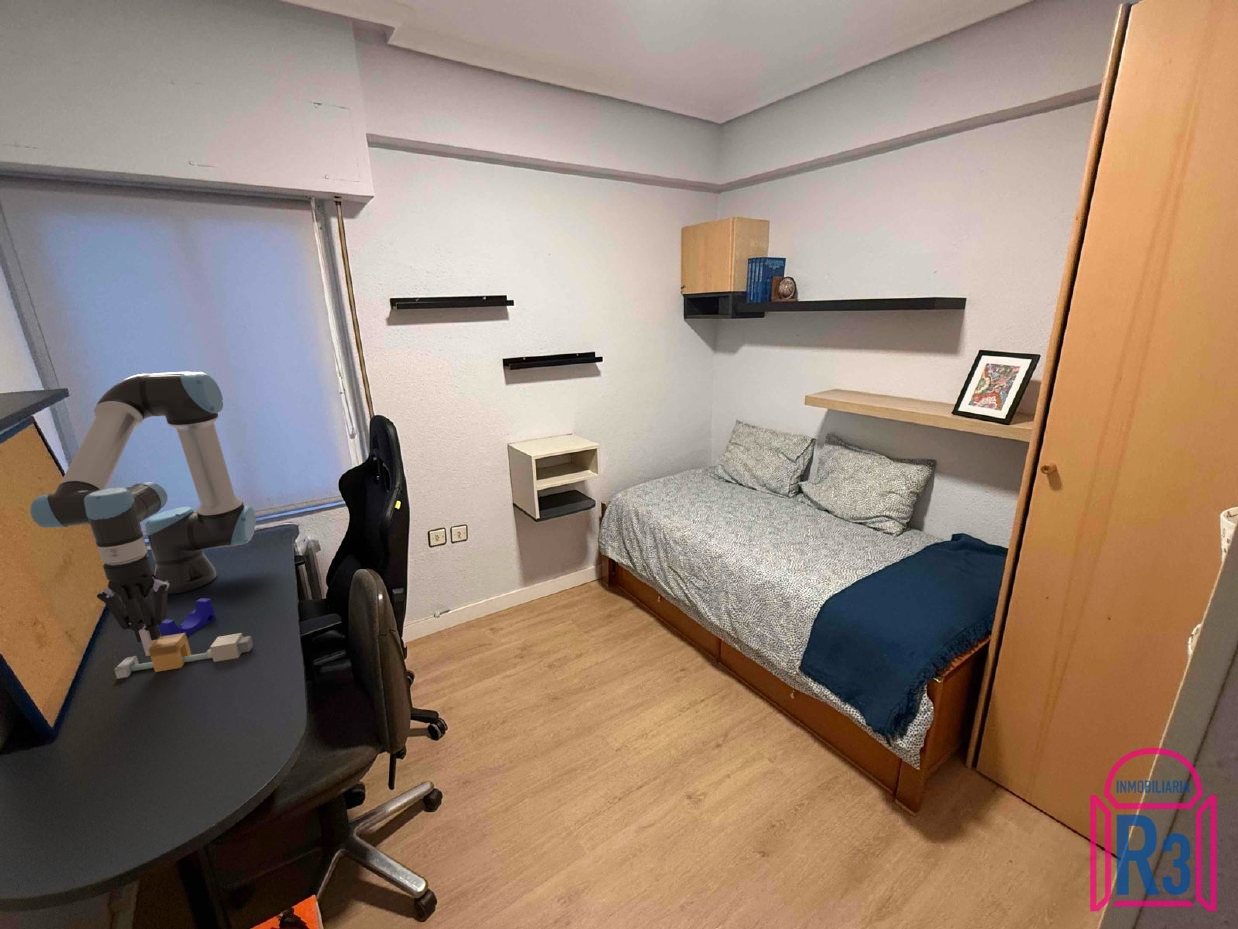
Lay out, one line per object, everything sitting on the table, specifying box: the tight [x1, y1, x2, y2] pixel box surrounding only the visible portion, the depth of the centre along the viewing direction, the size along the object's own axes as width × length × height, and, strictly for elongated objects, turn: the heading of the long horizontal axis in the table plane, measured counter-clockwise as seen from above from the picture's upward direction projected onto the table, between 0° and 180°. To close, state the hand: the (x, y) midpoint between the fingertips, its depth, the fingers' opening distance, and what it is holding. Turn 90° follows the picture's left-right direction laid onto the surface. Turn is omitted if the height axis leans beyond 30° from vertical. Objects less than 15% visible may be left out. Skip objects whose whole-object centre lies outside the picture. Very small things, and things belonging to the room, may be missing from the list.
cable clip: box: [158, 597, 216, 637], centre depth 137 cm, size 12×4×6 cm, turn 172°
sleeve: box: [149, 633, 192, 673], centre depth 123 cm, size 5×5×6 cm
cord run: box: [114, 632, 254, 679], centre depth 124 cm, size 26×5×4 cm, turn 107°
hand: (153, 652), depth 122 cm, fingers closed
